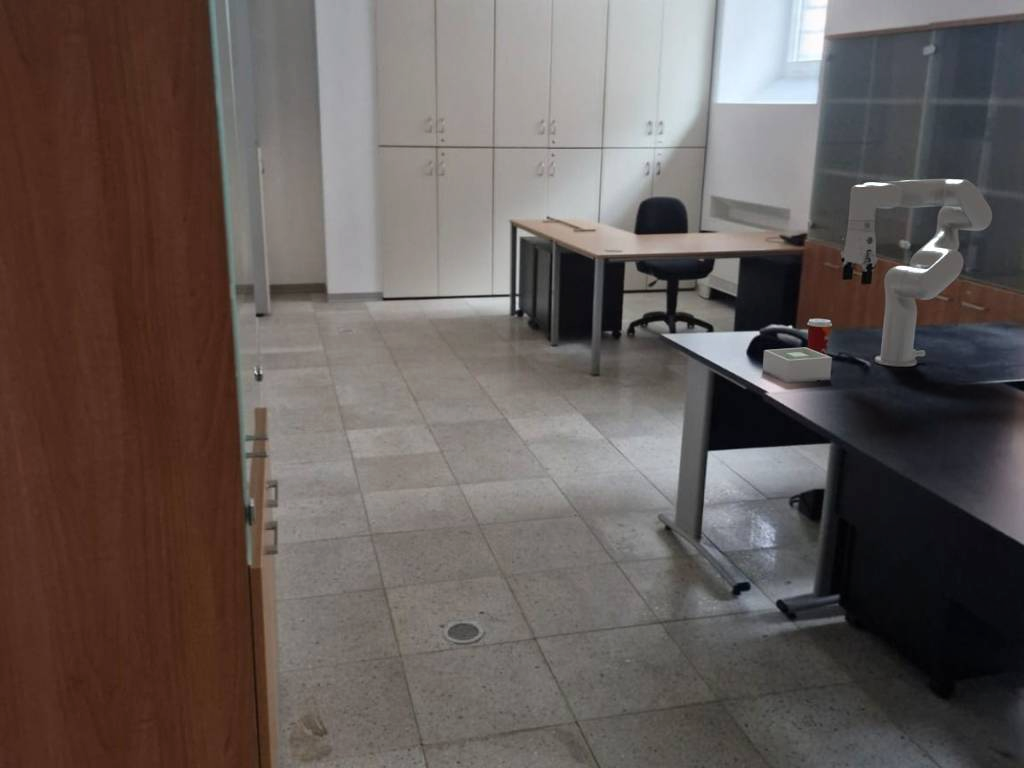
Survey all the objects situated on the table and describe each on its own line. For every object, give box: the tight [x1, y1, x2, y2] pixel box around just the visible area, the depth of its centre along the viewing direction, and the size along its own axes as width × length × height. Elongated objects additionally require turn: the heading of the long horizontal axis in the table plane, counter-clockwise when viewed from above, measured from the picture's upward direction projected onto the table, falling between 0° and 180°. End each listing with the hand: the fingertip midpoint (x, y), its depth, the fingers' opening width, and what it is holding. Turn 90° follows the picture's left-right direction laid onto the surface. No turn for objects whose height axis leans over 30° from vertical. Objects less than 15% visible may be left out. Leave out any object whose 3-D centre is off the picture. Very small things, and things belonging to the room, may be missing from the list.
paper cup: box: [806, 318, 833, 356], centre depth 294 cm, size 8×8×14 cm
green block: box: [786, 352, 809, 360], centre depth 278 cm, size 5×5×6 cm
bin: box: [762, 346, 833, 384], centre depth 278 cm, size 15×15×7 cm
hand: (856, 281), depth 279 cm, fingers open, 9 cm apart
